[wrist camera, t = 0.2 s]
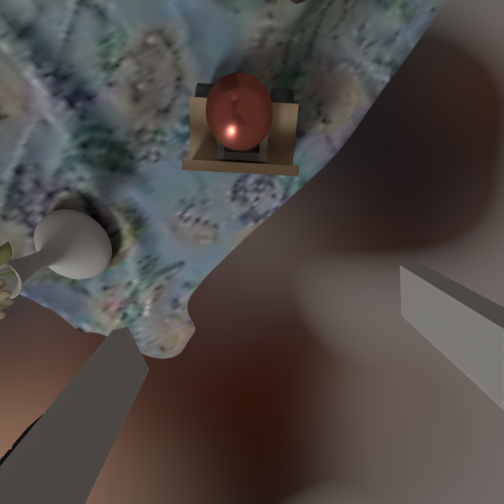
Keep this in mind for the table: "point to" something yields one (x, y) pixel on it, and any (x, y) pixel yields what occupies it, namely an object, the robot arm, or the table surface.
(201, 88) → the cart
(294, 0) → the ceramic cup
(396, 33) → the table surface
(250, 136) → the pin
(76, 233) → the flower in vase
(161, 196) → the table surface
